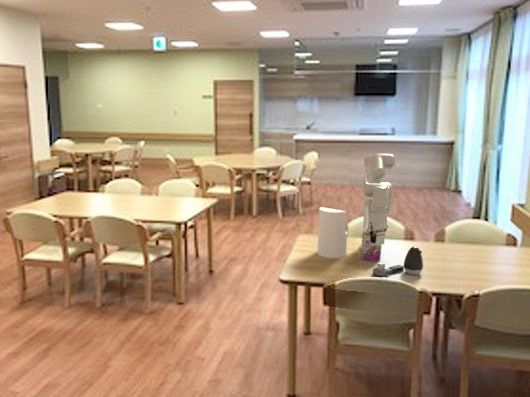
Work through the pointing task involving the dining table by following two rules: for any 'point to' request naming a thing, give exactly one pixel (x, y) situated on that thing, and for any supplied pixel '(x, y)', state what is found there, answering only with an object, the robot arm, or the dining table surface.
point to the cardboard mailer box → (378, 237)
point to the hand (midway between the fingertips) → (376, 241)
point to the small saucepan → (386, 270)
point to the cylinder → (332, 233)
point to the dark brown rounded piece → (413, 261)
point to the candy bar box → (370, 249)
